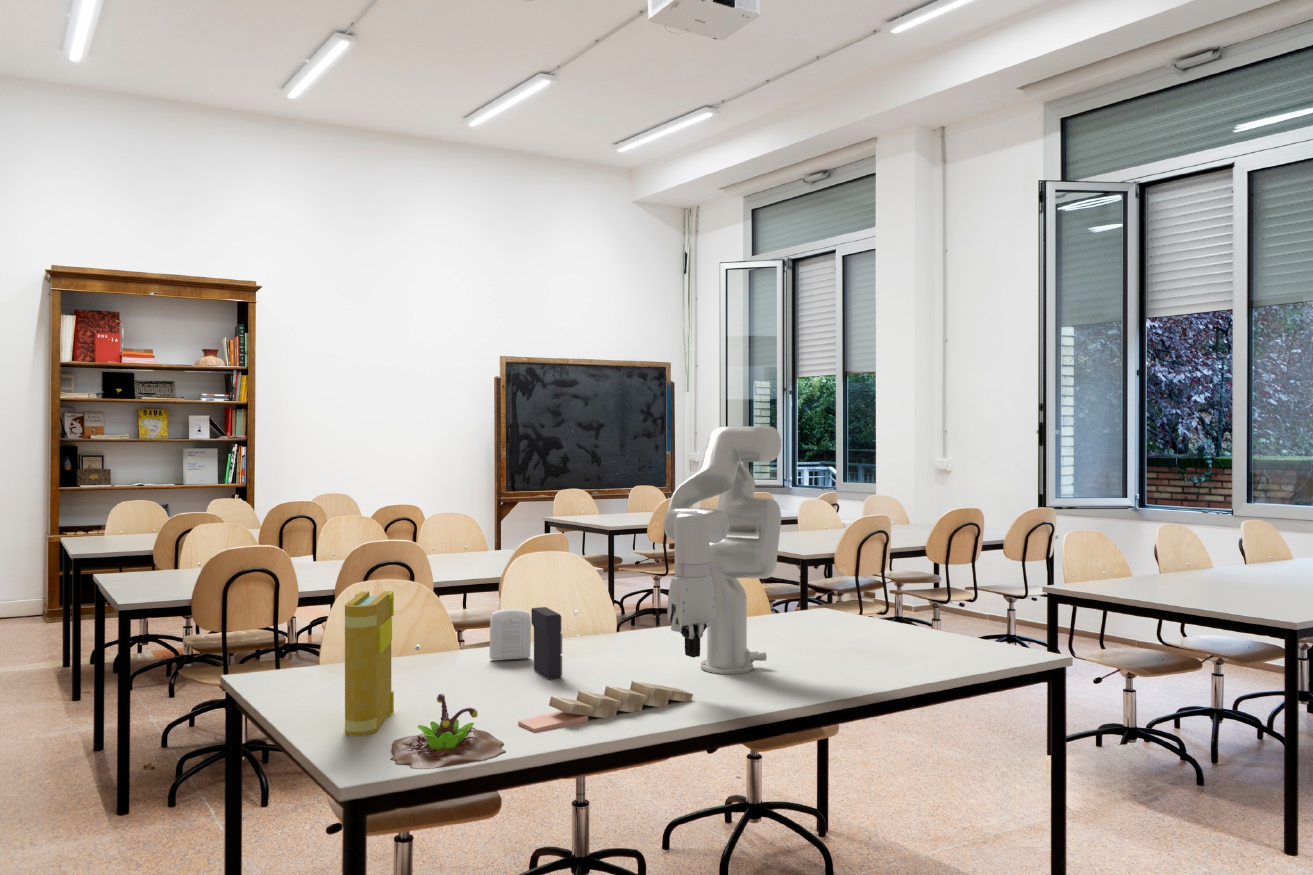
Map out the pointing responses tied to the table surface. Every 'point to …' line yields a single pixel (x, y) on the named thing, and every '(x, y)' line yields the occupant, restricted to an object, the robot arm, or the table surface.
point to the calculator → (547, 642)
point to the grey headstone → (510, 634)
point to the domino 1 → (552, 721)
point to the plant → (446, 743)
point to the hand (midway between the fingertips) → (692, 655)
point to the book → (368, 662)
